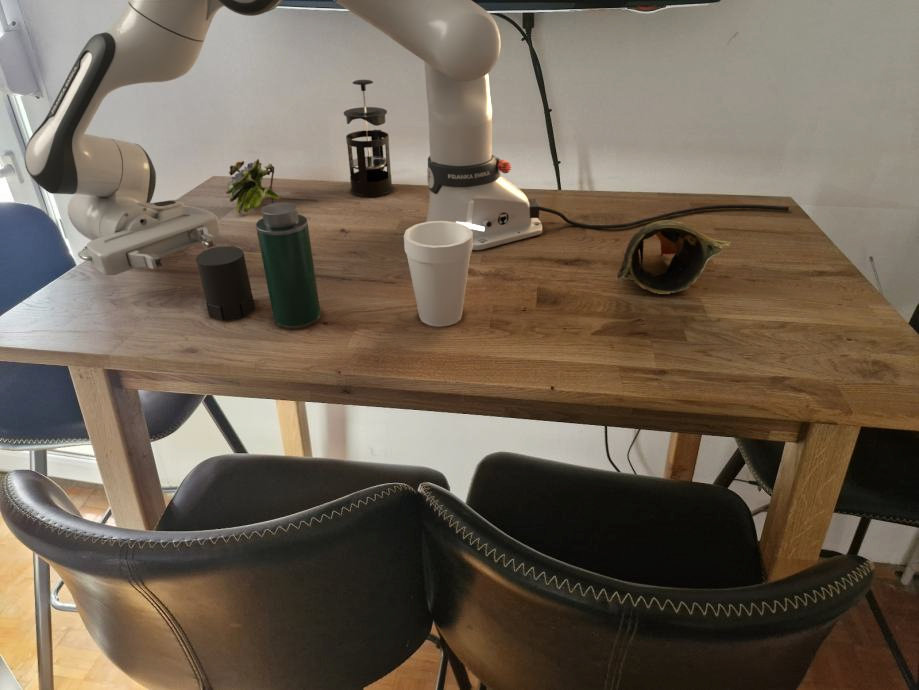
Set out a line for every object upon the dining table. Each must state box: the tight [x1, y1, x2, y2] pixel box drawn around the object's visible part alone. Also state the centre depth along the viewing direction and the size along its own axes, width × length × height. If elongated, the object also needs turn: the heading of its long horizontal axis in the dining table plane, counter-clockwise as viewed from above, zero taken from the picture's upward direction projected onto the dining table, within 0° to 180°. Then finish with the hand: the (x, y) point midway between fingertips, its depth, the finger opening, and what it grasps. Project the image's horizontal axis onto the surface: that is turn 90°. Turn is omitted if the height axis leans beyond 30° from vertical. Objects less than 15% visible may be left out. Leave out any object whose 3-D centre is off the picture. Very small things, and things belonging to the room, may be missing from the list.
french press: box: [343, 79, 394, 199], centre depth 138 cm, size 12×9×23 cm
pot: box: [616, 219, 734, 295], centre depth 104 cm, size 17×11×18 cm
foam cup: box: [403, 221, 473, 328], centre depth 92 cm, size 10×9×13 cm
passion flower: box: [225, 158, 281, 216], centre depth 134 cm, size 11×11×12 cm
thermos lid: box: [195, 245, 256, 322], centre depth 95 cm, size 7×7×9 cm
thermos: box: [255, 201, 322, 331], centre depth 91 cm, size 7×7×17 cm
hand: (185, 252), depth 99 cm, fingers open, 8 cm apart
